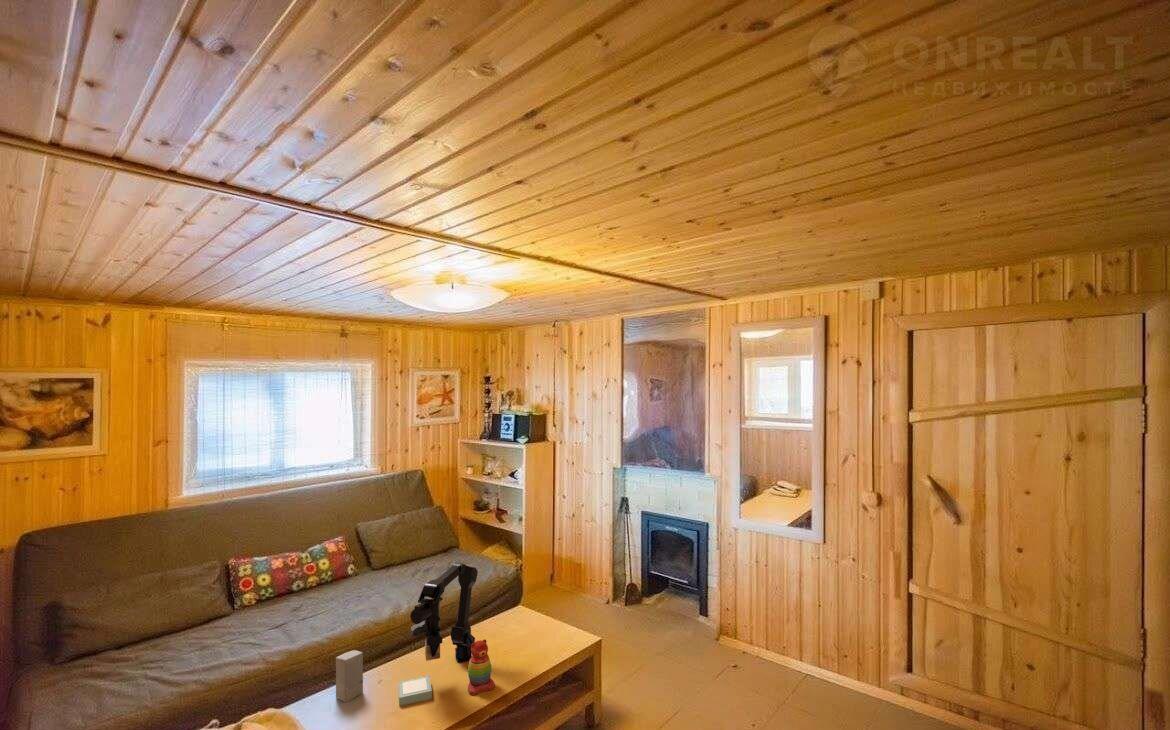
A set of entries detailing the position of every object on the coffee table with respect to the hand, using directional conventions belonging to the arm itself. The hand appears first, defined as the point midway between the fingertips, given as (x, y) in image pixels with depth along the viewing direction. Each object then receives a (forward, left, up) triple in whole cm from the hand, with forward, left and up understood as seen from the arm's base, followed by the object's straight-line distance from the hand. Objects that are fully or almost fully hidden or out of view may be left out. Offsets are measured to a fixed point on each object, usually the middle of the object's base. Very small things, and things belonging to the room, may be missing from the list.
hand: (432, 653), depth 217 cm
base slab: (+7, +5, -12) cm, 15 cm away
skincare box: (+32, -5, -12) cm, 34 cm away
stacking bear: (-18, +10, -12) cm, 24 cm away
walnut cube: (0, 0, -1) cm, 1 cm away
